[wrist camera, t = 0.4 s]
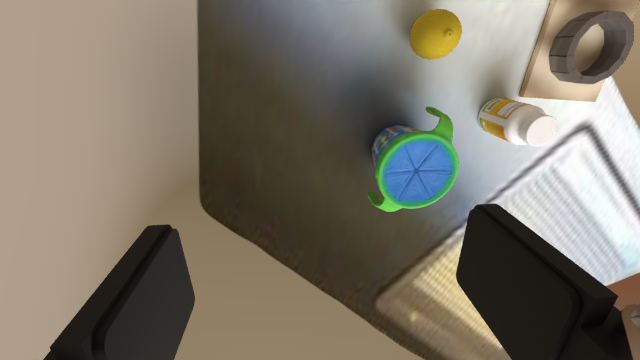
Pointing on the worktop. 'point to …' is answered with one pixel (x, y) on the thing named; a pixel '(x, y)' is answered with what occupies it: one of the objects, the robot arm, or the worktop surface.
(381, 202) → the snack cup
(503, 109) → the supplement bottle
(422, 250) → the worktop surface
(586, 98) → the collar board
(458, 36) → the lemon
